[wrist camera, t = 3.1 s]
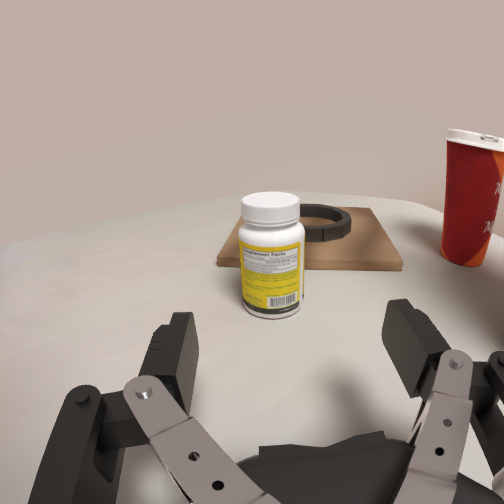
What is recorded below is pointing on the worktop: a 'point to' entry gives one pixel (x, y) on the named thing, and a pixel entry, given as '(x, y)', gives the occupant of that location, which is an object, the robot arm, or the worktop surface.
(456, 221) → the paper cup
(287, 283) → the supplement bottle
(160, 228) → the worktop surface
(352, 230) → the board
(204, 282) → the worktop surface
